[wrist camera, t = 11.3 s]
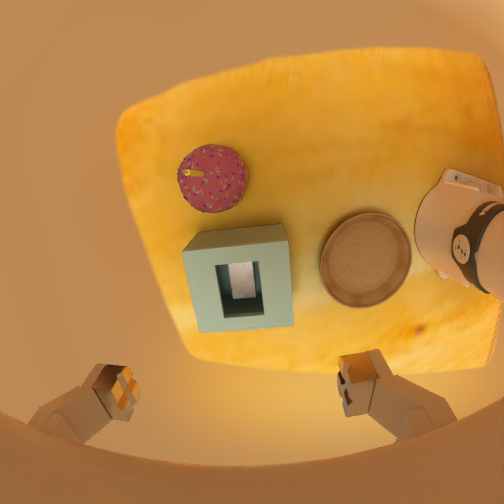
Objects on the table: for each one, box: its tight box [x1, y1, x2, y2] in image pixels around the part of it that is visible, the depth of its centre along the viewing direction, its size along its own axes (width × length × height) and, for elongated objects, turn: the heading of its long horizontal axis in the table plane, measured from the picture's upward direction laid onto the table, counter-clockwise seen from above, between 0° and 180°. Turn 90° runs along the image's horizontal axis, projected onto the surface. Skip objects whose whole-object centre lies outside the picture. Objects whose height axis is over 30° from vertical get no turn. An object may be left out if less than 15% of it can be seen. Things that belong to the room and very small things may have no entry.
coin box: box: [182, 223, 294, 333], centre depth 37 cm, size 12×11×9 cm
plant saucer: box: [320, 213, 412, 308], centre depth 40 cm, size 15×15×3 cm
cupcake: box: [177, 144, 248, 213], centre depth 32 cm, size 9×8×12 cm
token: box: [228, 262, 256, 299], centre depth 39 cm, size 3×5×5 cm, turn 6°
